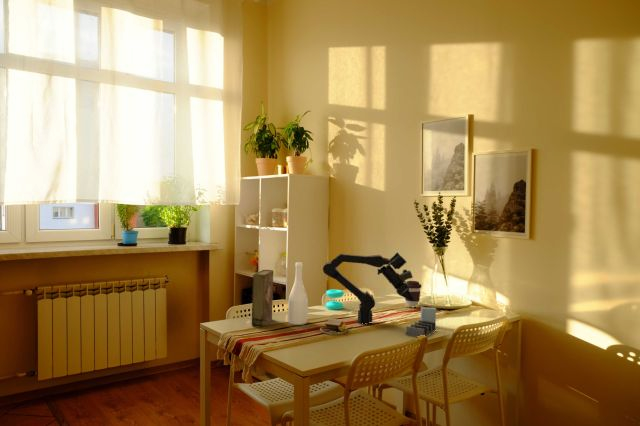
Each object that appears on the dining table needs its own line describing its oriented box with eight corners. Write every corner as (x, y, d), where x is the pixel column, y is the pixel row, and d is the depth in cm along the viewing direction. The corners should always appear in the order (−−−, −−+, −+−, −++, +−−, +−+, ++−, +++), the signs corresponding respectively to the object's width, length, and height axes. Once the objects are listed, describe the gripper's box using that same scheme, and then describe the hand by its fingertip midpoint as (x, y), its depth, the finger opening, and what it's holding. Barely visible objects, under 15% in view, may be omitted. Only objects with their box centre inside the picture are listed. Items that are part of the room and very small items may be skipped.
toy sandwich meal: (315, 333, 235) (315, 323, 235) (326, 326, 247) (327, 317, 247) (340, 337, 230) (341, 326, 230) (351, 330, 242) (351, 320, 242)
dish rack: (405, 335, 236) (405, 326, 236) (418, 327, 249) (418, 319, 249) (423, 338, 231) (424, 329, 231) (436, 331, 245) (436, 322, 245)
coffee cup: (415, 309, 290) (416, 283, 290) (400, 307, 296) (401, 281, 296) (423, 307, 298) (424, 281, 298) (408, 304, 304) (409, 279, 304)
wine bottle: (304, 326, 247) (306, 264, 246) (285, 324, 248) (287, 263, 248) (308, 321, 256) (310, 262, 255) (290, 320, 258) (292, 261, 257)
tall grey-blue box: (421, 326, 253) (421, 308, 252) (420, 325, 256) (421, 307, 255) (435, 327, 252) (436, 309, 252) (434, 325, 255) (435, 307, 255)
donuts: (345, 289, 291) (341, 292, 282) (345, 307, 292) (340, 310, 282) (328, 288, 294) (324, 291, 285) (328, 305, 294) (323, 309, 285)
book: (262, 318, 259) (263, 269, 259) (272, 319, 258) (274, 270, 257) (251, 326, 243) (253, 274, 242) (262, 327, 242) (264, 274, 241)
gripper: (405, 267, 245) (427, 291, 244) (401, 262, 263) (422, 285, 263) (388, 282, 246) (409, 306, 245) (385, 276, 264) (405, 299, 264)
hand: (412, 298), depth 254 cm, fingers open, 9 cm apart
